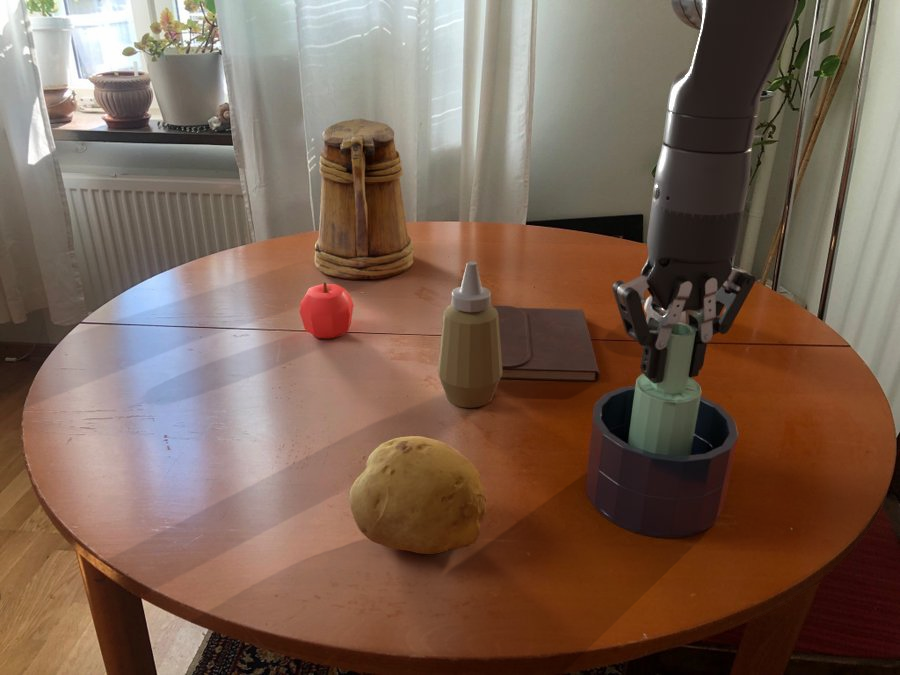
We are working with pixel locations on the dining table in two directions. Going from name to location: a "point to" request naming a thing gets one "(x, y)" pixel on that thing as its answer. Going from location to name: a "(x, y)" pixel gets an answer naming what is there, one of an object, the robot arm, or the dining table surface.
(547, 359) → the notebook
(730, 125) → the robot arm
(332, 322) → the apple
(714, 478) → the pot
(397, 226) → the tankard
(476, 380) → the squeeze bottle
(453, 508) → the potato
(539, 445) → the dining table surface
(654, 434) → the bottle
